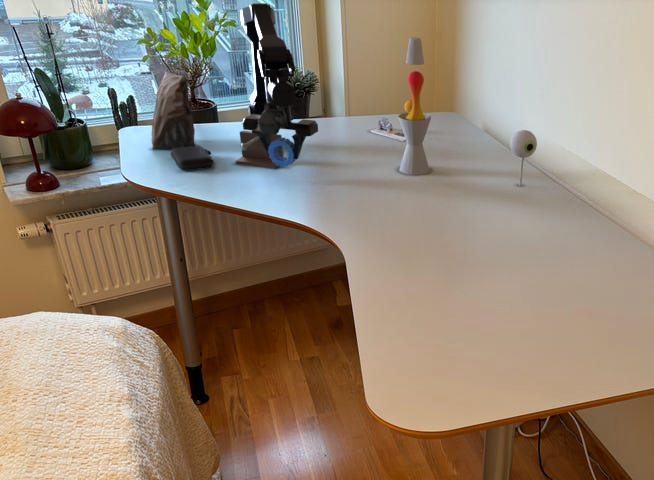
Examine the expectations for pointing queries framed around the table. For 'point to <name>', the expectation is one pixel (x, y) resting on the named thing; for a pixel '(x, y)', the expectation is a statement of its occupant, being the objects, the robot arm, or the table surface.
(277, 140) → the tape roll
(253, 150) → the hook
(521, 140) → the eyeball on stand
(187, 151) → the carrying case
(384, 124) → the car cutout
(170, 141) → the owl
